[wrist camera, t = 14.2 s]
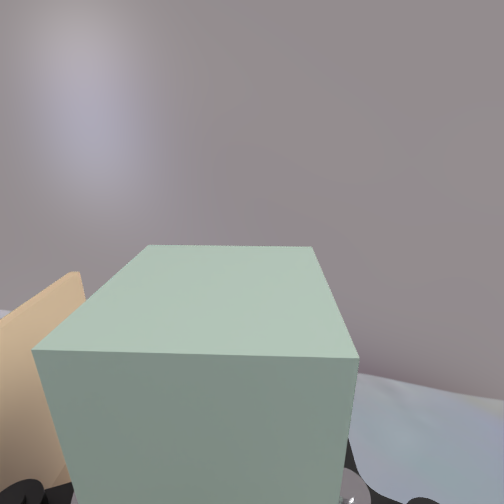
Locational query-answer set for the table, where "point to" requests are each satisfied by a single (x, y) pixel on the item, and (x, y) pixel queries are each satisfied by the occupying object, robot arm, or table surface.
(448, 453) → the table surface
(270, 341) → the box
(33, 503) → the robot arm
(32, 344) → the carton
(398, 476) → the table surface
